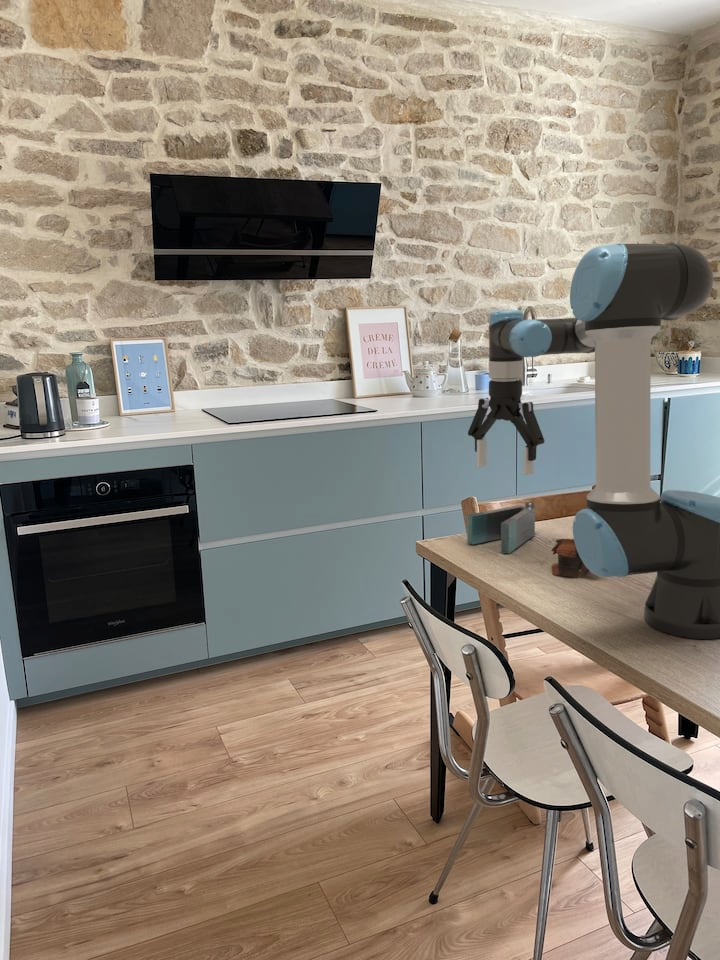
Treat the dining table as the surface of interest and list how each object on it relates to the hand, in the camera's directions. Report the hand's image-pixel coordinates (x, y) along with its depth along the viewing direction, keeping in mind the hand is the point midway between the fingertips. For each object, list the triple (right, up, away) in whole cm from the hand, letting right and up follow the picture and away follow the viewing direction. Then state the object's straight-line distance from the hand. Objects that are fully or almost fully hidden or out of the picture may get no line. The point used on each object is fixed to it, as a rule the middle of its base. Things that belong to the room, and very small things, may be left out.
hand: (504, 470), depth 175 cm
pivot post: (+8, -16, +11) cm, 21 cm away
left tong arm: (0, -17, +8) cm, 18 cm away
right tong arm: (+4, -18, +3) cm, 18 cm away
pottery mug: (+12, -22, -16) cm, 30 cm away
